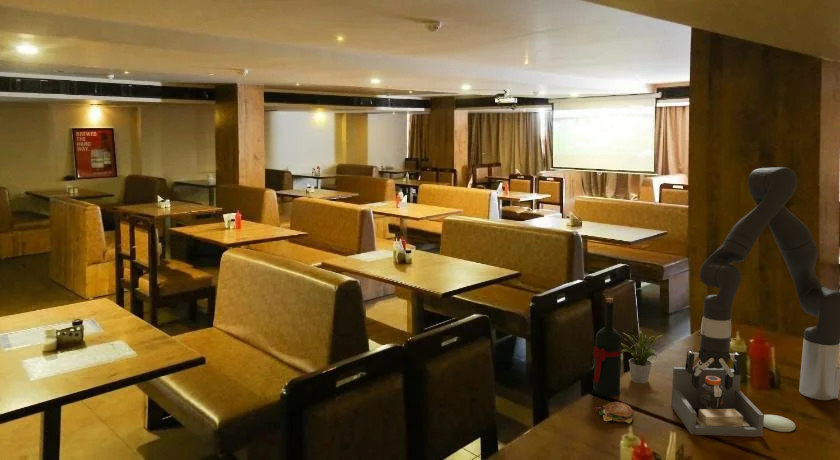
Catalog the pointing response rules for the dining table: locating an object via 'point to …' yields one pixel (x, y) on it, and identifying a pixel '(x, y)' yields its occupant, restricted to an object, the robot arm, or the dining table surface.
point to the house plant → (640, 358)
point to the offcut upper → (720, 417)
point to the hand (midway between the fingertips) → (711, 387)
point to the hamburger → (617, 412)
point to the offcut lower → (745, 424)
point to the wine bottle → (607, 357)
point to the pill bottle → (711, 393)
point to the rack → (689, 398)
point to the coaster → (778, 423)
